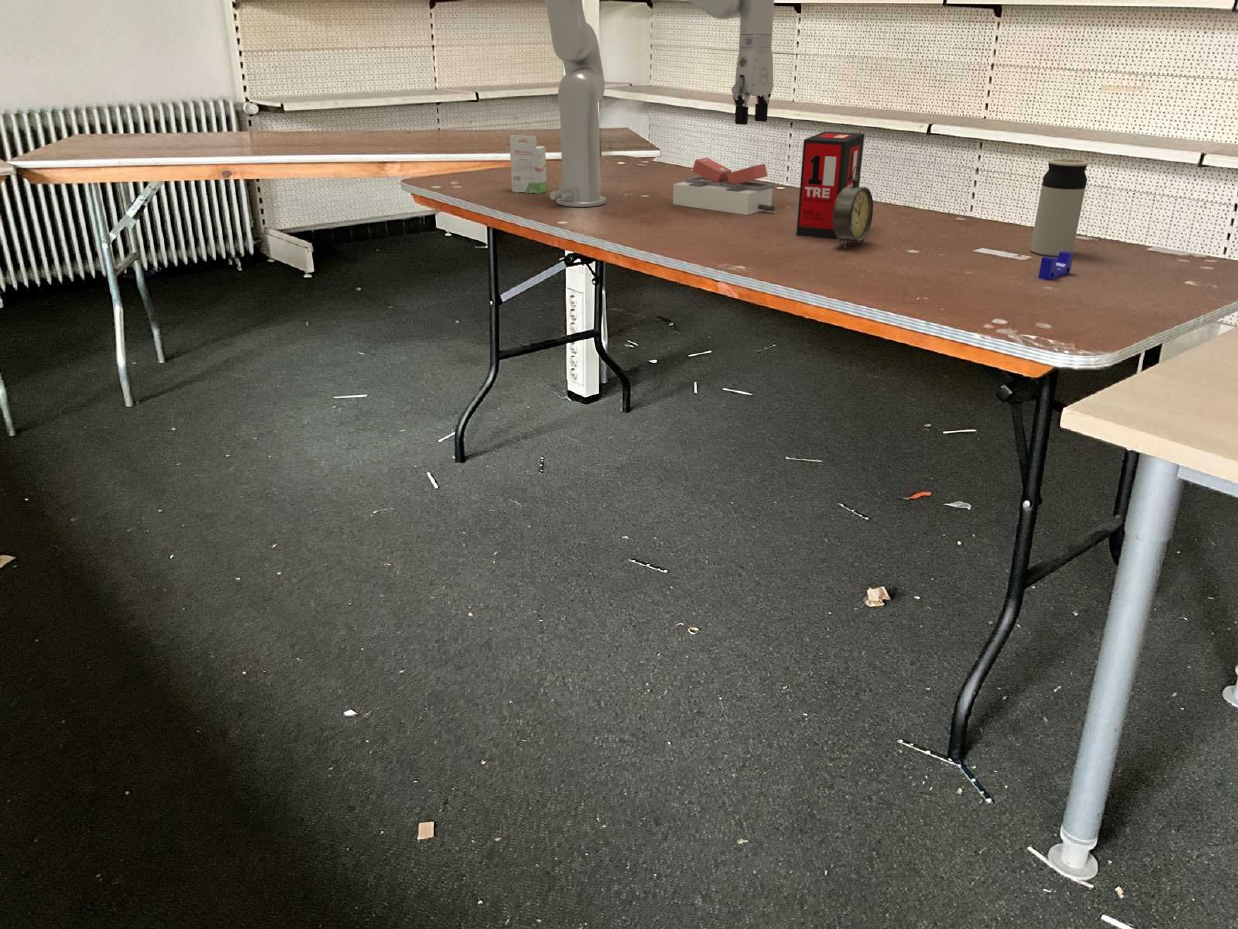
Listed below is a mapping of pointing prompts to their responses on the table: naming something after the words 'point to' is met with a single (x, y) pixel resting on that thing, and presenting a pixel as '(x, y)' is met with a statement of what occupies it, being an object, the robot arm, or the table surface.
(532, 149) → the ink box
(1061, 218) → the travel mug
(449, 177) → the table surface
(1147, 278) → the table surface
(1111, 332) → the table surface
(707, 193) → the power strip
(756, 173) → the block
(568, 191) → the robot arm
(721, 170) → the rocker
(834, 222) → the alarm clock
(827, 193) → the cleaning product box
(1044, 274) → the cable holder
